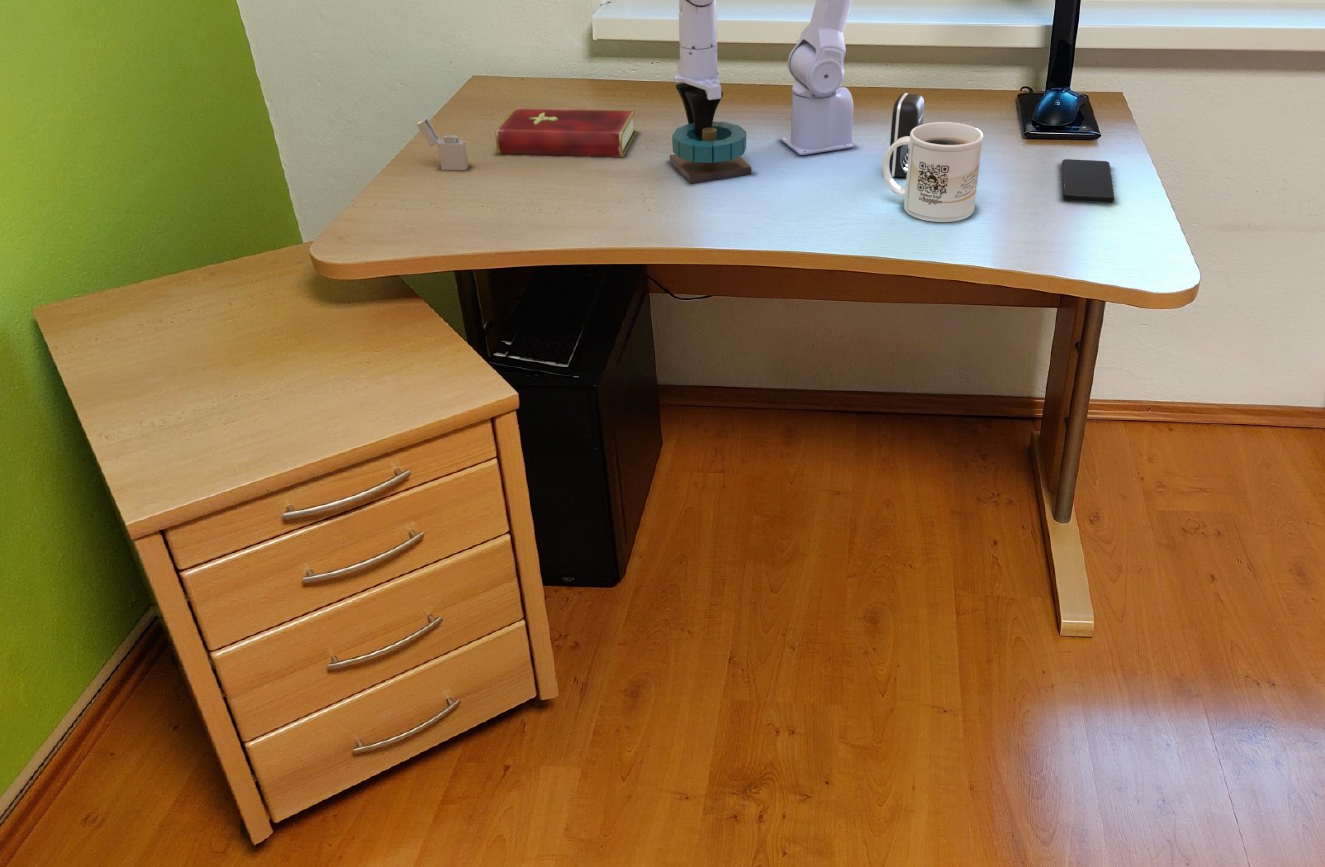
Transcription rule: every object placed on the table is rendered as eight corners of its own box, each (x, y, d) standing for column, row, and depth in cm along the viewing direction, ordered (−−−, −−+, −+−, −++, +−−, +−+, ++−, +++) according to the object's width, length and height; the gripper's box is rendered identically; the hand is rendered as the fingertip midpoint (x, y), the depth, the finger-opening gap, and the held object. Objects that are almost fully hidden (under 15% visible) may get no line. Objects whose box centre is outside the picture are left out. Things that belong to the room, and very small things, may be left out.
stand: (728, 153, 184) (728, 115, 180) (751, 174, 176) (751, 135, 172) (669, 162, 181) (668, 124, 178) (690, 183, 173) (689, 144, 170)
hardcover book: (622, 158, 183) (621, 132, 181) (497, 154, 187) (494, 129, 184) (636, 133, 193) (634, 108, 191) (517, 130, 196) (514, 106, 194)
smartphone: (1063, 195, 162) (1062, 158, 174) (1062, 201, 163) (1061, 163, 175) (1114, 198, 160) (1109, 160, 172) (1113, 203, 161) (1108, 166, 173)
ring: (729, 133, 183) (729, 117, 181) (756, 156, 174) (756, 139, 172) (664, 143, 180) (663, 127, 178) (687, 167, 171) (687, 150, 170)
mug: (929, 229, 156) (936, 151, 150) (876, 200, 165) (881, 126, 159) (988, 213, 160) (998, 136, 154) (933, 186, 169) (941, 113, 163)
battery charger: (911, 180, 171) (918, 105, 165) (886, 178, 172) (892, 103, 166) (920, 164, 177) (927, 91, 170) (896, 162, 178) (902, 89, 171)
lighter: (468, 166, 183) (462, 117, 178) (465, 170, 181) (458, 121, 177) (426, 165, 184) (419, 116, 179) (423, 169, 182) (415, 120, 178)
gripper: (658, 35, 177) (661, 121, 184) (689, 59, 165) (691, 150, 173) (701, 30, 178) (702, 115, 186) (734, 54, 167) (734, 143, 174)
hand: (699, 132), depth 179 cm, fingers closed on ring, 2 cm apart
